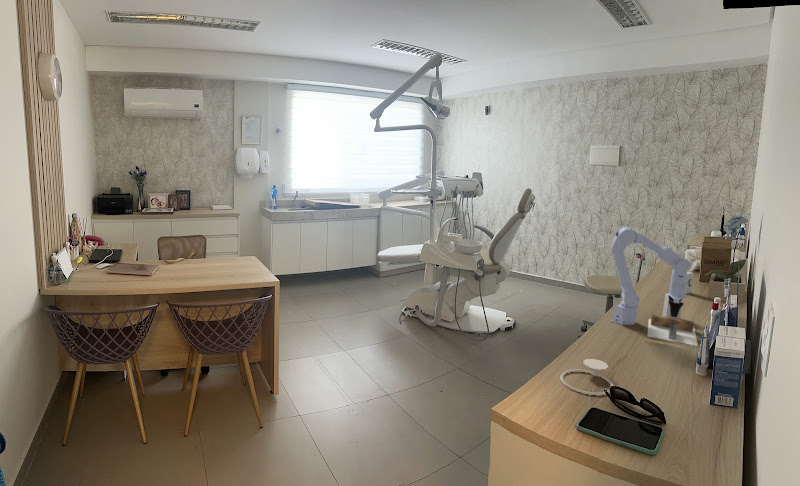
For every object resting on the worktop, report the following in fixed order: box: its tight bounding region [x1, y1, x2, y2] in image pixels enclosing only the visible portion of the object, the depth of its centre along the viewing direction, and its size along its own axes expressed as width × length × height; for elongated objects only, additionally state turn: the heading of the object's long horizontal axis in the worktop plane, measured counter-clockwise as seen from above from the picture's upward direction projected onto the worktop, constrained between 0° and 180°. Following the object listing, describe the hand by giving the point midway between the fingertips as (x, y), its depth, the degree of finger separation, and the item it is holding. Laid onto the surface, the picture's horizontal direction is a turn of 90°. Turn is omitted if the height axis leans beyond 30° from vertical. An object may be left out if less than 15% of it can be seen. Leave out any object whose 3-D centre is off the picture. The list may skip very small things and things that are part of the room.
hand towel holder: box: [559, 358, 615, 397], centre depth 159 cm, size 17×4×21 cm
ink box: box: [684, 271, 694, 295], centre depth 265 cm, size 9×5×12 cm, turn 25°
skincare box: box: [661, 293, 683, 319], centre depth 220 cm, size 6×4×12 cm
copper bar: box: [650, 313, 695, 332], centre depth 208 cm, size 16×3×4 cm, turn 62°
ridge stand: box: [646, 318, 698, 348], centre depth 203 cm, size 24×18×5 cm
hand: (673, 314), depth 207 cm, fingers open, 7 cm apart
